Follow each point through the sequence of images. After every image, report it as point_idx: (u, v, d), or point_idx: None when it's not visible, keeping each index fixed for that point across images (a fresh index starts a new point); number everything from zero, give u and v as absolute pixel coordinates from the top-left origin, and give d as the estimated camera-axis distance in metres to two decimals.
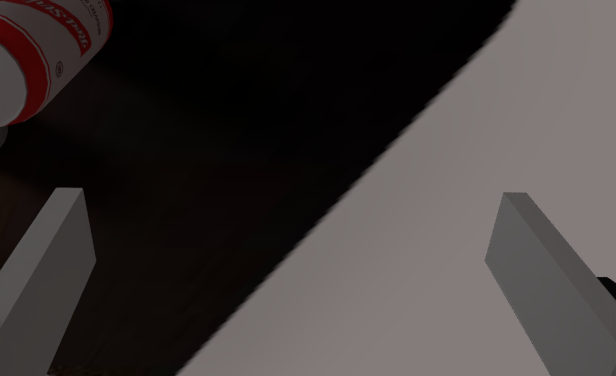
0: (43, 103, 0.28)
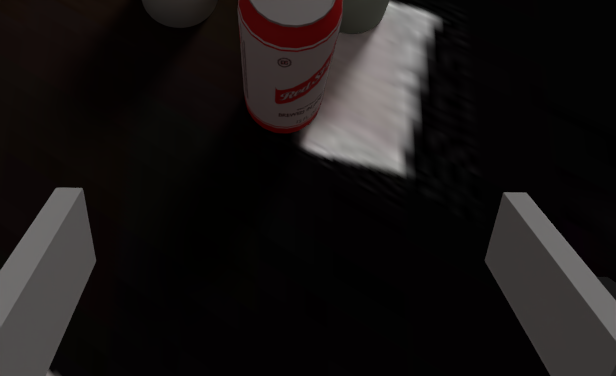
0: (260, 39, 0.30)
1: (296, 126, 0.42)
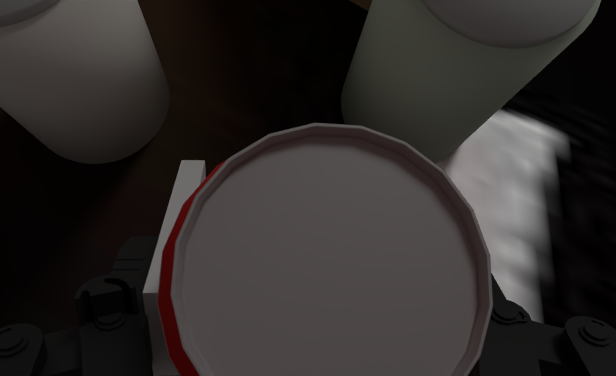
0: None
1: None
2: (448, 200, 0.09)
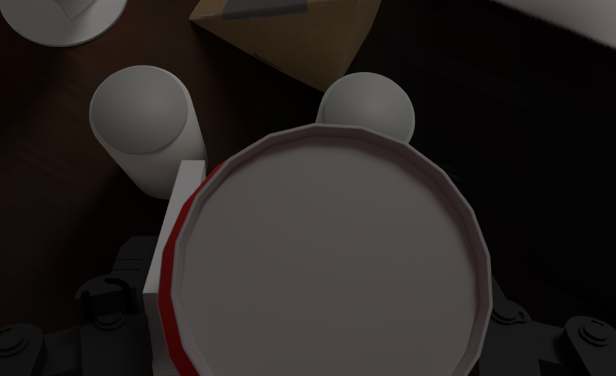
0: None
1: None
2: (448, 200, 0.09)
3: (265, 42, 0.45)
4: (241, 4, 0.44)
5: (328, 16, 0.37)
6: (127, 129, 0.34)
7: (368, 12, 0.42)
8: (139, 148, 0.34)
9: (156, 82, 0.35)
